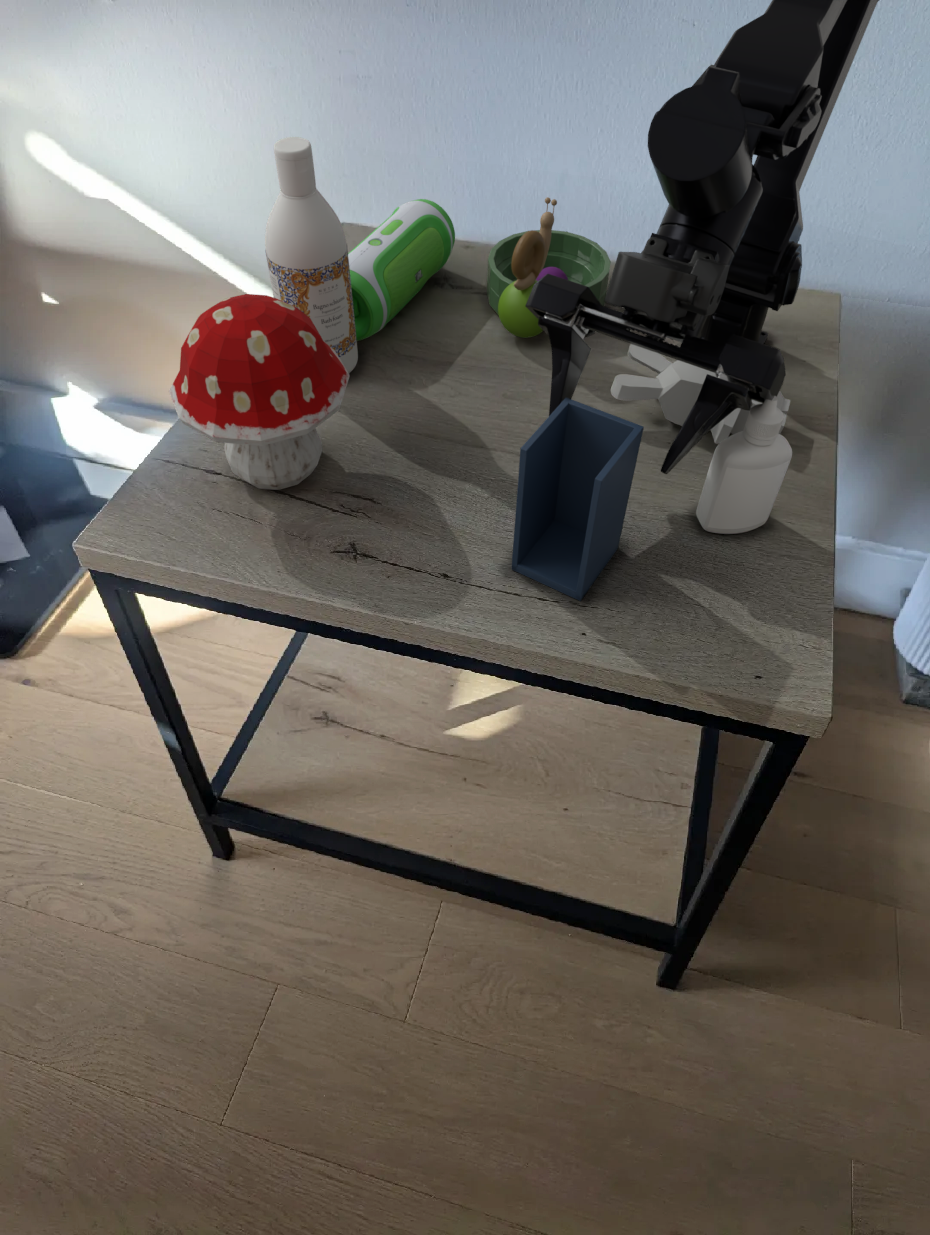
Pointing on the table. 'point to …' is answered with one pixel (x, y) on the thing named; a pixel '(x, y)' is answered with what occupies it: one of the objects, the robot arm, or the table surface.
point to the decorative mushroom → (259, 387)
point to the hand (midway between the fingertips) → (606, 450)
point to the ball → (552, 273)
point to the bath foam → (310, 251)
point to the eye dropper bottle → (746, 474)
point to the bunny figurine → (678, 391)
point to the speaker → (397, 262)
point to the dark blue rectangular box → (573, 496)
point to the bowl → (552, 264)
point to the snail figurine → (526, 278)
